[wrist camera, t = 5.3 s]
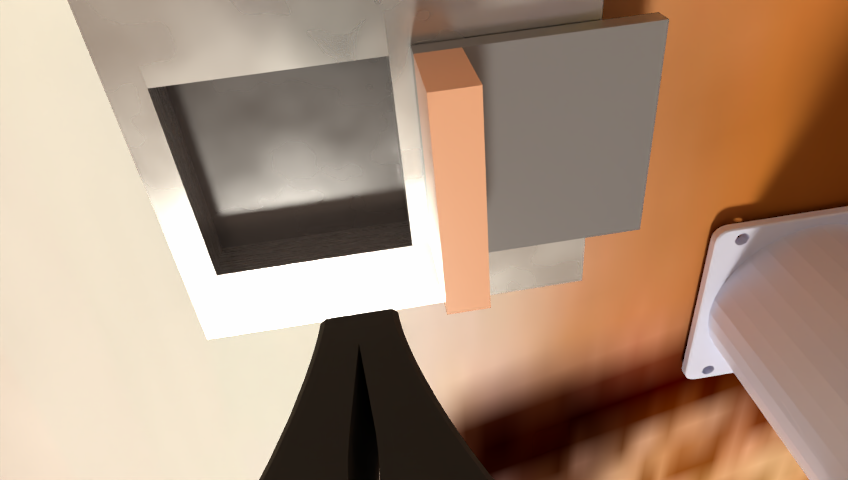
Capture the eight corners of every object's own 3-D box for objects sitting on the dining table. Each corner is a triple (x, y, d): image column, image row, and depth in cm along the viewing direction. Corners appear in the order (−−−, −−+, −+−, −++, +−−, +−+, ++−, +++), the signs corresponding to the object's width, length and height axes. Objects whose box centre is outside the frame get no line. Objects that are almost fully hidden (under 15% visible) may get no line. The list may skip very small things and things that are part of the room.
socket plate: (581, -94, 16) (609, -81, 15) (563, 245, 23) (581, 280, 21) (89, -33, 16) (62, -12, 14) (215, 299, 22) (207, 339, 21)
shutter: (658, 12, 16) (718, 52, 14) (632, 218, 20) (675, 278, 17) (410, 45, 16) (426, 92, 13) (431, 249, 20) (447, 314, 17)
